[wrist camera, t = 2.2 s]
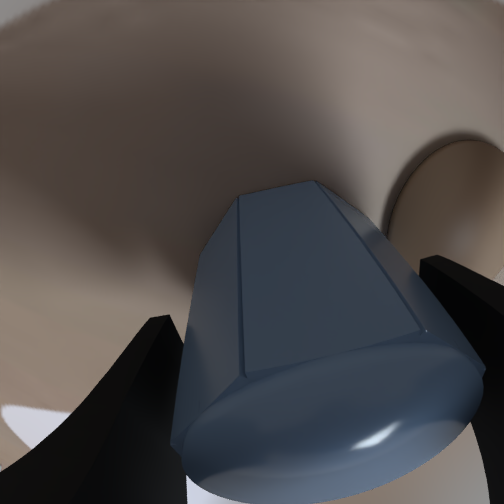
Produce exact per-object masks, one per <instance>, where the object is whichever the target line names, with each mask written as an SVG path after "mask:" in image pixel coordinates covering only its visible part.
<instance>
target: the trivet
mask: <svg viewBox="0 0 504 504" xmlns="http://www.w3.org/2000/svg"><path fill="white" fill-rule="evenodd" d="M387 239H388V240H389V241H390V242H391V244H392V245H393V246H394V247H395V248H396V249H397V251H398V252H399V253H400V254H401V255H402V256H403V258H404V259H405V260H406V261H407V262H408V263H409V265H410V266H411V267H412V268H413V269H414V271H415V272H416V273H417V274H418V276H419V267H420V259H423V258H426V257H430V256H434V255H440V256H443V257H445V258H447V259H450V260H452V261H454V262H456V263H458V264H460V265H463V266H465V267H467V268H469V269H471V270H473V271H475V272H477V273H479V274H481V275H483V276H485V277H487V278H489V279H491V280H493V279H494V278H495V277H496V276H497V274H498V273H499V272H500V271H501V269H502V268H503V266H504V153H503V152H502V151H501V150H499V149H498V148H496V147H494V146H492V145H489V144H487V143H484V142H481V141H476V140H462V141H456V142H453V143H451V144H448V145H445V146H444V147H442V148H440V149H438V150H436V151H435V152H434V153H433V154H431V155H430V156H429V157H427V158H426V159H425V160H424V161H423V162H422V163H421V164H420V165H419V166H418V167H417V169H416V170H415V171H414V172H413V173H412V175H411V176H410V178H409V179H408V181H407V182H406V184H405V185H404V187H403V189H402V191H401V193H400V195H399V197H398V199H397V201H396V204H395V206H394V209H393V212H392V215H391V219H390V222H389V228H388V234H387Z"/></svg>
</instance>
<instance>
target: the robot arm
mask: <svg viewBox="0 0 504 504" xmlns="http://www.w3.org/2000/svg"><path fill="white" fill-rule="evenodd" d="M419 277H420V278H421V279H422V280H423V282H424V283H425V284H426V285H427V287H428V288H429V289H430V291H431V292H432V293H433V294H434V296H435V297H436V298H437V299H438V301H439V302H440V303H441V305H442V306H443V307H444V309H445V310H446V311H447V313H448V314H449V315H450V317H451V318H452V319H453V321H454V322H455V323H456V325H457V326H458V327H459V329H460V330H461V332H462V333H463V334H464V336H465V337H466V339H467V340H468V342H469V343H470V344H471V346H472V347H473V349H474V350H475V352H476V353H477V355H478V356H479V358H480V359H481V361H482V362H483V364H484V365H485V369H486V370H485V373H484V375H483V377H482V381H483V386H484V388H483V396H482V400H481V403H480V405H479V407H478V409H477V412H476V413H475V415H474V417H473V418H472V420H471V421H470V422H471V424H472V427H473V430H474V433H475V436H476V439H477V442H478V446H479V449H480V452H481V456H482V460H483V464H484V469H485V473H486V478H487V484H488V490H489V499H490V504H504V286H503V285H501V284H499V283H497V282H495V281H493V280H491V279H489V278H487V277H485V276H483V275H481V274H479V273H477V272H475V271H473V270H471V269H469V268H467V267H465V266H463V265H460V264H458V263H456V262H454V261H452V260H450V259H447V258H445V257H443V256H440V255H434V256H430V257H426V258H423V259H420V267H419ZM183 347H184V344H183V342H182V340H181V338H180V336H179V334H178V332H177V330H176V327H175V325H174V323H173V321H172V319H171V317H170V315H163V316H158V317H152V318H149V320H148V321H147V322H146V323H145V324H144V325H143V327H142V328H141V329H140V330H139V332H138V333H137V334H136V335H135V337H134V338H133V339H132V341H131V342H130V343H129V345H128V346H127V347H126V349H125V350H124V351H123V352H122V354H121V355H120V356H119V358H118V359H117V360H116V362H115V363H114V364H113V365H112V367H111V368H110V369H109V371H108V372H107V373H106V374H105V375H104V377H103V378H102V379H101V380H100V381H99V383H98V384H97V385H96V386H95V388H94V389H93V390H92V391H91V392H90V394H89V395H88V396H87V397H86V398H85V399H84V401H83V402H82V403H81V404H80V405H79V406H78V407H77V408H76V409H75V410H74V411H73V412H72V413H71V414H70V415H69V417H68V418H67V419H66V420H65V421H64V422H63V423H62V424H61V425H60V426H59V427H58V428H56V429H55V430H54V431H53V432H52V433H51V434H50V435H48V436H47V437H46V438H45V439H44V440H43V441H41V442H40V443H39V444H38V445H37V446H36V447H35V448H34V449H32V450H31V451H30V452H28V453H27V454H26V455H24V456H23V457H22V458H20V459H19V460H18V461H16V462H15V463H13V464H12V465H10V466H9V467H7V468H6V469H4V470H3V471H1V472H0V504H187V486H186V485H187V484H186V473H185V471H184V469H183V466H182V460H181V459H182V457H181V456H180V455H179V454H178V453H177V452H176V451H175V450H174V449H173V447H172V446H171V445H170V440H171V432H172V424H173V416H174V408H175V401H176V394H177V387H178V380H179V373H180V366H181V360H182V354H183Z"/></svg>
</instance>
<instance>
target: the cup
mask: <svg viewBox="0 0 504 504" xmlns="http://www.w3.org/2000/svg"><path fill="white" fill-rule="evenodd" d="M485 370H486V369H485V365H484V364H483V362H482V361H481V359H480V358H479V356H478V355H477V353H476V352H475V350H474V349H473V347H472V346H471V344H470V343H469V342H468V340H467V339H466V337H465V336H464V334H463V333H462V332H461V330H460V329H459V327H458V326H457V325H456V323H455V322H454V321H453V319H452V318H451V317H450V315H449V314H448V313H447V311H446V310H445V309H444V307H443V306H442V305H441V303H440V302H439V301H438V299H437V298H436V297H435V296H434V294H433V293H432V292H431V291H430V289H429V288H428V287H427V285H426V284H425V283H424V282H423V280H422V279H421V278H420V277H419V276H418V274H417V273H416V272H415V271H414V269H413V268H412V267H411V266H410V265H409V263H408V262H407V261H406V260H405V259H404V258H403V256H402V255H401V254H400V253H399V252H398V251H397V249H396V248H395V247H394V246H393V245H392V244H391V242H390V241H389V240H388V239H387V238H386V237H385V236H384V235H383V233H382V232H381V231H380V230H379V229H378V228H377V227H376V226H375V225H374V223H373V222H372V221H371V220H370V219H369V218H368V217H366V216H365V215H364V214H362V213H361V212H360V211H358V210H357V209H355V208H354V207H353V206H351V205H350V204H349V203H347V202H346V201H344V200H343V199H342V198H340V197H339V196H337V195H336V194H334V193H333V192H332V191H330V190H329V189H327V188H326V187H324V186H323V185H322V184H320V183H319V182H317V181H316V182H314V181H313V180H312V181H307V182H302V183H297V184H292V185H287V186H282V187H277V188H272V189H268V190H263V191H258V192H254V193H249V194H245V195H240V196H239V199H238V198H236V199H235V201H234V202H233V204H232V205H231V207H230V208H229V210H228V211H227V213H226V214H225V216H224V218H223V219H222V221H221V222H220V224H219V225H218V227H217V229H216V230H215V232H214V233H213V235H212V236H211V238H210V240H209V241H208V243H207V244H206V246H205V247H204V249H203V251H202V252H201V254H200V257H199V262H198V267H197V273H196V278H195V283H194V289H193V294H192V300H191V306H190V311H189V317H188V323H187V329H186V335H185V341H184V347H183V354H182V360H181V366H180V373H179V380H178V387H177V394H176V401H175V408H174V416H173V424H172V432H171V440H170V445H171V446H172V447H173V449H174V450H175V451H176V452H177V453H178V454H179V455H180V456H181V457H182V459H181V460H182V466H183V469H184V471H185V473H186V475H187V476H188V477H189V478H190V479H191V480H192V481H193V482H194V483H195V484H197V485H198V486H199V487H201V488H203V489H204V490H206V491H208V492H210V493H212V494H215V495H217V496H220V497H223V498H227V499H230V500H234V501H238V502H243V503H250V504H313V503H320V502H326V501H331V500H336V499H341V498H345V497H348V496H352V495H356V494H359V493H362V492H365V491H368V490H371V489H374V488H376V487H379V486H382V485H384V484H386V483H389V482H391V481H393V480H395V479H397V478H399V477H401V476H403V475H405V474H407V473H409V472H411V471H413V470H414V469H416V468H417V467H419V466H421V465H422V464H424V463H426V462H427V461H429V460H430V459H431V458H433V457H434V456H436V455H437V454H438V453H440V452H441V451H442V450H443V449H445V448H446V447H447V446H448V445H449V444H450V443H451V442H452V441H453V440H455V439H456V438H457V436H458V435H459V434H460V433H461V432H462V431H463V430H464V429H465V428H466V426H467V425H468V424H469V423H470V421H471V420H472V418H473V417H474V415H475V413H476V412H477V409H478V407H479V405H480V403H481V400H482V396H483V388H484V386H483V381H482V377H483V375H484V373H485Z"/></svg>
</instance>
